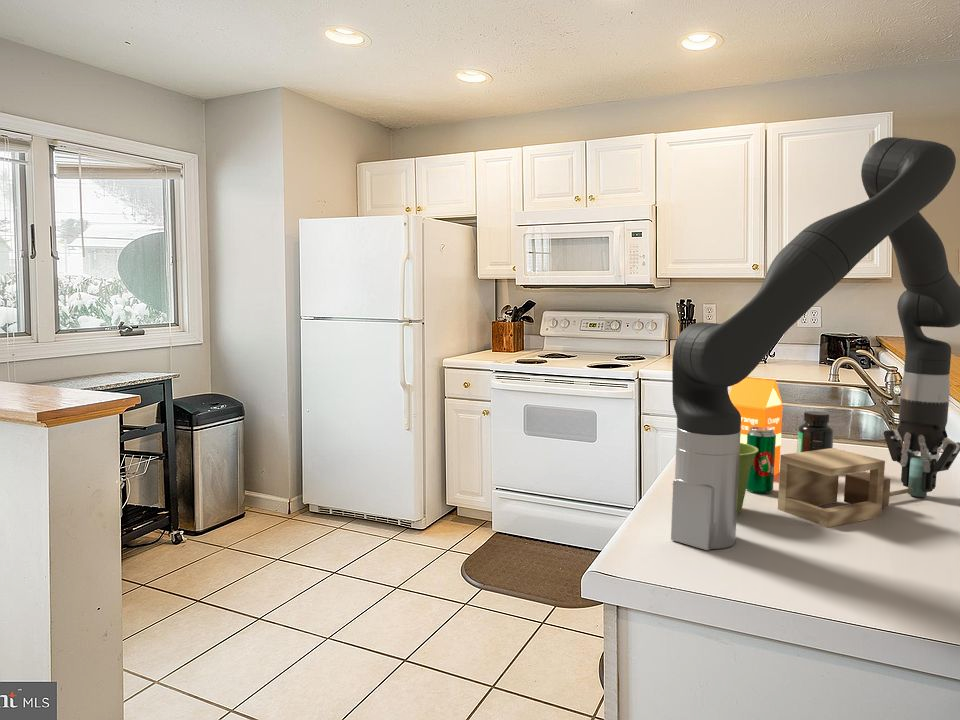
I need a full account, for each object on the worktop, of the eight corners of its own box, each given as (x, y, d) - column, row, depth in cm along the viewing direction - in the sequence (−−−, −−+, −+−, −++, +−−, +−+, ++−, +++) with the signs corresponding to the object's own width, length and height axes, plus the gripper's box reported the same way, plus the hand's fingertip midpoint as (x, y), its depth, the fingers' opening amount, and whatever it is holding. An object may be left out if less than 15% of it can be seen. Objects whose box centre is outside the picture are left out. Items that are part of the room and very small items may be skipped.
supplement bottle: (793, 469, 147) (797, 413, 146) (798, 462, 153) (801, 409, 152) (829, 473, 144) (833, 417, 142) (832, 466, 150) (836, 412, 148)
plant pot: (767, 509, 121) (770, 446, 119) (735, 526, 112) (739, 458, 111) (704, 494, 129) (706, 435, 128) (670, 509, 121) (673, 445, 119)
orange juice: (761, 479, 139) (766, 381, 137) (721, 470, 146) (725, 377, 144) (779, 473, 144) (785, 378, 142) (740, 464, 151) (744, 373, 149)
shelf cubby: (827, 527, 112) (830, 468, 111) (777, 509, 121) (780, 454, 120) (881, 516, 117) (885, 460, 116) (829, 499, 126) (833, 447, 125)
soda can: (749, 485, 135) (752, 425, 134) (776, 490, 132) (779, 428, 131) (740, 491, 131) (743, 429, 130) (768, 496, 128) (771, 432, 127)
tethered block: (869, 509, 120) (872, 470, 119) (843, 501, 124) (846, 463, 123) (935, 497, 127) (938, 459, 126) (909, 489, 132) (911, 453, 131)
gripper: (977, 402, 122) (969, 497, 124) (901, 390, 135) (894, 477, 136) (951, 404, 119) (943, 502, 121) (875, 392, 131) (868, 481, 133)
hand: (917, 488), depth 129 cm, fingers closed on tethered block, 3 cm apart
